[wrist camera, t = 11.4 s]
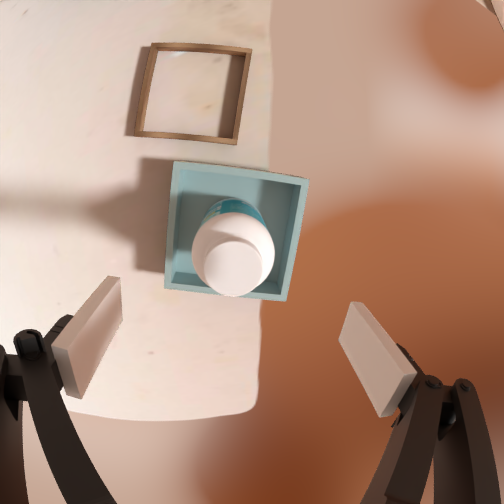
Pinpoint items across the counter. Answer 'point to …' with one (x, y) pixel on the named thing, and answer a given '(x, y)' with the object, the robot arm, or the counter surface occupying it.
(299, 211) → the bin
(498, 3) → the white hollow ring
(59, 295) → the counter surface
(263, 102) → the counter surface
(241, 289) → the pill bottle
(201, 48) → the frame
